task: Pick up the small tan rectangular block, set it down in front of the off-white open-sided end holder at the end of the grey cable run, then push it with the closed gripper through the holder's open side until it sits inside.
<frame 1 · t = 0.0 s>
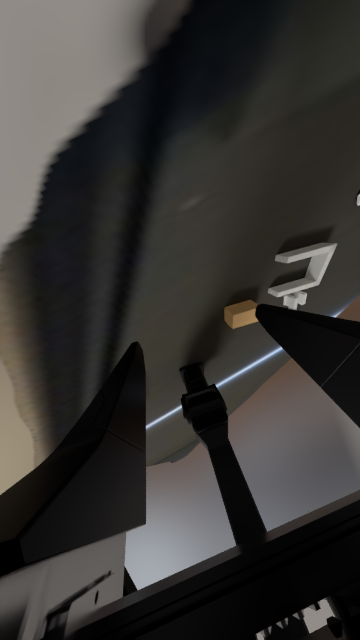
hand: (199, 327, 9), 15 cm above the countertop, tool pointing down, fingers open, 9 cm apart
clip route: (288, 308, 32), on the countertop
tan rectangular block: (236, 309, 29), on the countertop
end holder: (291, 269, 26), on the countertop
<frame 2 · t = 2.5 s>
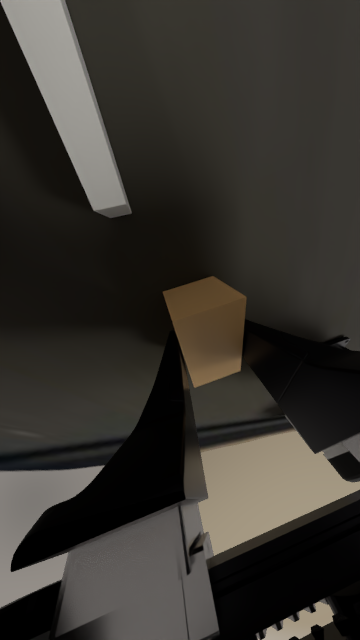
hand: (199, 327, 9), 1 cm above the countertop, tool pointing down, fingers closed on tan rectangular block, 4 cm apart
tan rectangular block: (195, 319, 10), on the countertop, touching gripper
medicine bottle: (298, 404, 33), on the countertop
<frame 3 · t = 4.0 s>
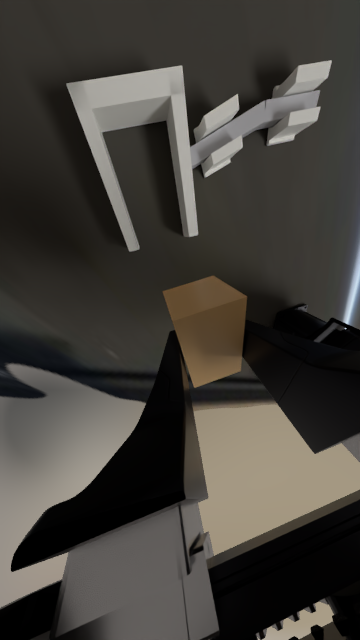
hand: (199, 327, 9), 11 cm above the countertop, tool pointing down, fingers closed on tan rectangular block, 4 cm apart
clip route: (243, 133, 12), on the countertop
tan rectangular block: (195, 319, 10), point 10 cm above the countertop, touching gripper
end holder: (150, 191, 13), on the countertop
when the fingers open (2 cm above the countertop, at t = 5.7 s): tan rectangular block drops 1 cm, on the countertop.
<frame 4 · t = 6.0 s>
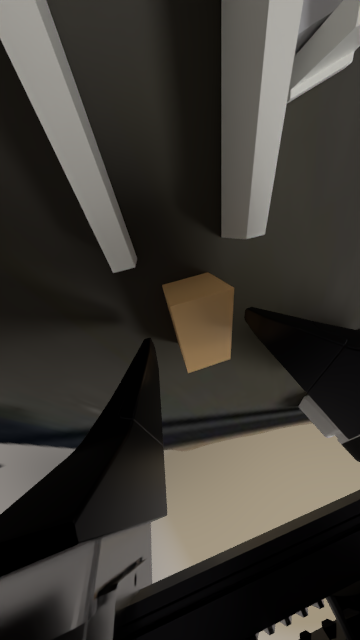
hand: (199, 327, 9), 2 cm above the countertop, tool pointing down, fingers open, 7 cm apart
tan rectangular block: (190, 312, 11), on the countertop
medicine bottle: (311, 395, 35), on the countertop
end holder: (161, 129, 6), on the countertop
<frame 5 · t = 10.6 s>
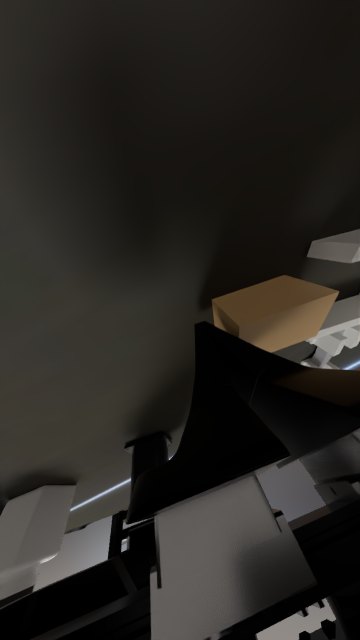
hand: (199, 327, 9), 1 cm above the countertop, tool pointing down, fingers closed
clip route: (316, 346, 18), on the countertop
tan rectangular block: (247, 306, 11), on the countertop, touching gripper
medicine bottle: (46, 490, 25), on the countertop
end holder: (339, 278, 12), on the countertop
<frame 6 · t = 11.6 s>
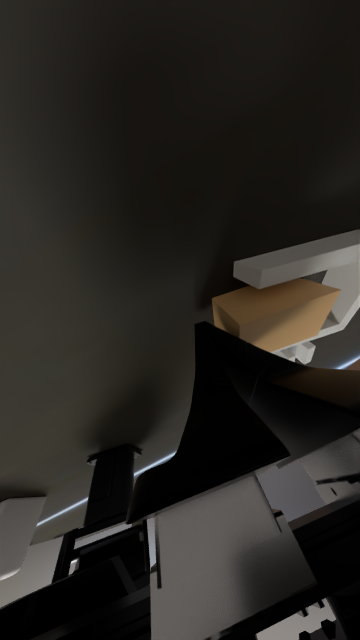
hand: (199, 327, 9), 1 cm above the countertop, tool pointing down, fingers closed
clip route: (277, 359, 17), on the countertop
tan rectangular block: (247, 305, 11), on the countertop, touching gripper
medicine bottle: (13, 502, 24), on the countertop
end holder: (280, 295, 11), on the countertop
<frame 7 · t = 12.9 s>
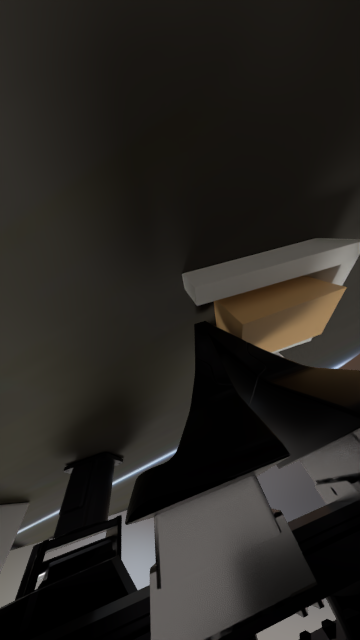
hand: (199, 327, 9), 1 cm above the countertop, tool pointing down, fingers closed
tan rectangular block: (249, 304, 11), on the countertop, touching gripper
end holder: (243, 305, 11), on the countertop
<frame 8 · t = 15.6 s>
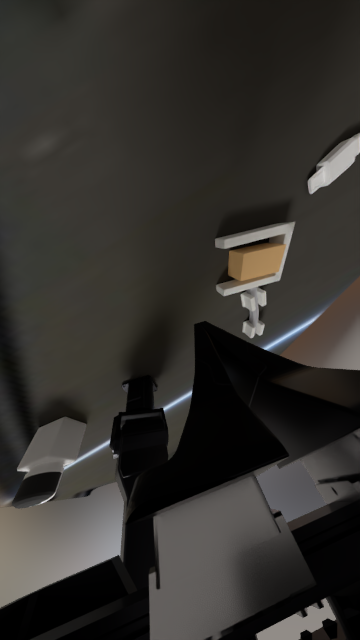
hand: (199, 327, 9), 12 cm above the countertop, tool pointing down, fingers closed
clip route: (249, 310, 26), on the countertop
tan rectangular block: (245, 259, 20), on the countertop
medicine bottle: (65, 424, 33), on the countertop
end holder: (243, 260, 20), on the countertop
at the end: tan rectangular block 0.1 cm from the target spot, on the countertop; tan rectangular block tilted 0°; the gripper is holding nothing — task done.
